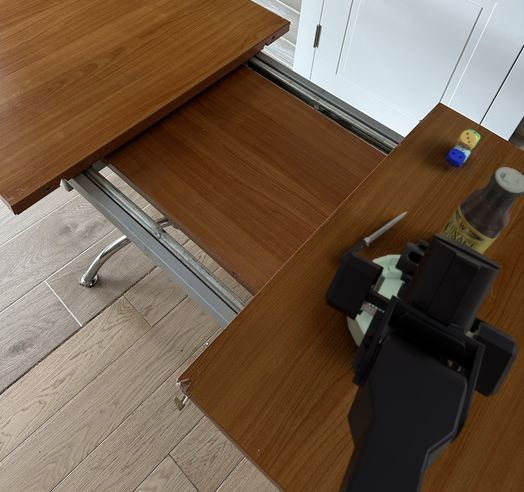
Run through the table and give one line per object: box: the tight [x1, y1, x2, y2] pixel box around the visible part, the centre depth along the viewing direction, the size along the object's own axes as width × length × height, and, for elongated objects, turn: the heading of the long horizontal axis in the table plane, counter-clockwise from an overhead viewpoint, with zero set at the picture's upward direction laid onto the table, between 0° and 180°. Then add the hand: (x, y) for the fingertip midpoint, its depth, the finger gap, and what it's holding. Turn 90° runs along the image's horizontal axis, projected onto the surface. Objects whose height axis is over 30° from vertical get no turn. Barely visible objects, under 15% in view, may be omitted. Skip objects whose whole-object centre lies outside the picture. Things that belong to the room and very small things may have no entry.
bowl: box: [346, 254, 450, 363], centre depth 69 cm, size 15×15×4 cm
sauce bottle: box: [439, 166, 524, 255], centre depth 71 cm, size 7×6×20 cm
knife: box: [338, 210, 409, 262], centre depth 78 cm, size 15×1×2 cm, turn 128°
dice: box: [445, 128, 481, 168], centre depth 89 cm, size 8×3×6 cm, turn 140°
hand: (418, 299), depth 61 cm, fingers open, 9 cm apart
